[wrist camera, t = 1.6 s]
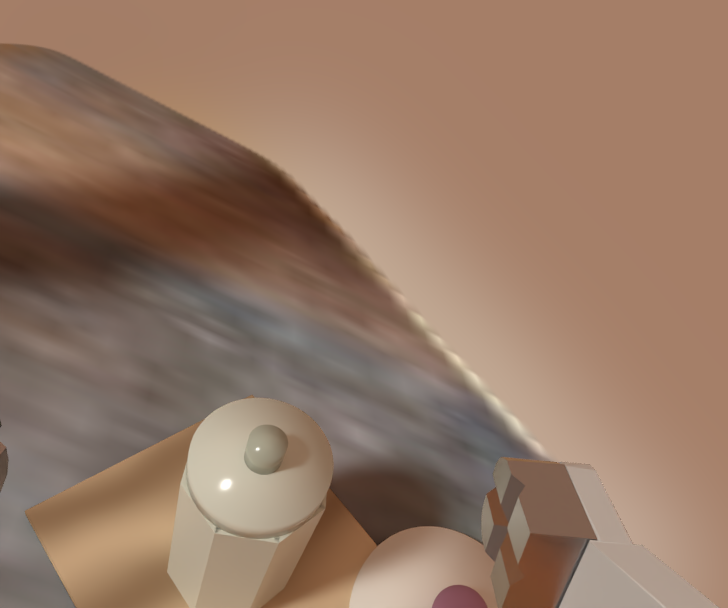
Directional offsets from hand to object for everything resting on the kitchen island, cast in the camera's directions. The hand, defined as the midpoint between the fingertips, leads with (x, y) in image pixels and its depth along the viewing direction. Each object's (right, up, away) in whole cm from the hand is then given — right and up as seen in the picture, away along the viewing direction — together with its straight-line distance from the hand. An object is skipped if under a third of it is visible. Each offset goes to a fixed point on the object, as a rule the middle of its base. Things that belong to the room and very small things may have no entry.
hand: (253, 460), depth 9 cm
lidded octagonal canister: (-5, -11, +21) cm, 24 cm away
